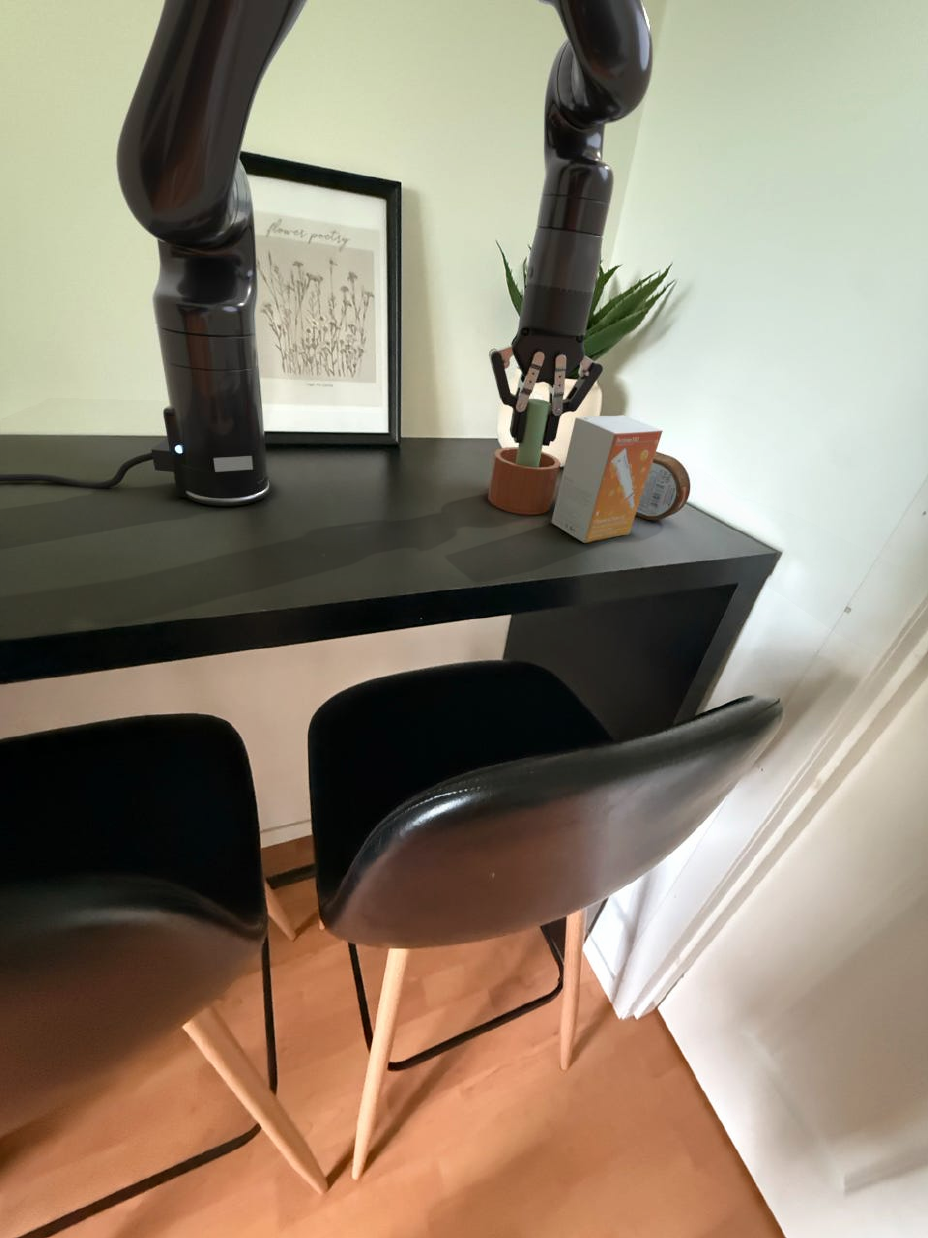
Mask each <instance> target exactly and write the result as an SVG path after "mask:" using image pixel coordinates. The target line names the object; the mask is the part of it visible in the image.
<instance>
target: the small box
mask: <svg viewBox="0 0 928 1238" xmlns="http://www.w3.org/2000/svg"><path fill="white" fill-rule="evenodd" d="M663 431H664V430H662V429H660V428H658V427H655V426H652V425H650V424H647V423H645V422H642V421H640V420H637V419H635V418H632V417H630V416H627V415H625V414H621V415H596V416H587V417H586V416H585V417H582V416H581V417H575V419H574V423H573V427H572V431H571V436H570V441H569V444H568V449H567V453H566V457H565V463H564V465H563V471H562V474H561V479H560V483H559V487H558V491H557V492H558V493H557V496H556V499H555V500H556V501H555V505H554V510H553V513H552V517H551V522H550V523H551V524H552V525H554V526H556V527H558V528H559V529H560V530H562V531H564V532H566V533H567V534H569V535H570V536H572V537H574V538H575V539H577V540H579V541H580V542H582V543H583V544H587V543H591V542H594V541H595V542H596V541H600V540H605V539H610V538H615V537H621V536H627V535H629V534H630V533H631V530H632V527H633V523H634V521H635V517H636V512H637V508H638V505H639V502H640V499H641V496H642V493H643V490H644V487H645V484H646V481H647V478H648V475H649V472H650V468H651V465H652V462H653V459H654V456H655V453H656V451H657V450H658V447H659V443H660V441H661V438H662V434H663Z"/></svg>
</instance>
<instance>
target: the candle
mask: <svg viewBox="0 0 928 1238" xmlns="http://www.w3.org/2000/svg"><path fill="white" fill-rule="evenodd" d="M550 406H551V403H550V402H549V400H545V399H540V398H529V400H528V403H527V406H526V408H525V412H526V419H525V425H524V431H523V437H522V442H521V443H518V446H517V447H518V451H517V457H516V463H515V464H517V465H522V466H526V467H536V468H538V467H539V462H540V457H541V452H543V451H542V450H543V441H544V436H545V431H546V426H547V421H548V416H549V411H550Z"/></svg>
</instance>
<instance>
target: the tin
mask: <svg viewBox="0 0 928 1238" xmlns="http://www.w3.org/2000/svg"><path fill="white" fill-rule="evenodd" d="M689 475H690V474H689V473H688V471H687V469H686V468H685V466H684V465H683V463H682V462H681V461H680V460H678V459H677V458H675V457H673V456H671V455H668V454H665V453H662V452H659V451H657V450H656V453H655V456H654V459H653V462H652V465H651V468H650V472H649V475H648V478H647V481H646V484H645V487H644V490H643V493H642V496H641V499H640V502H639V505H638V508H637V512H636V515H635V517H639V518H642V519H644V520H647V521H660V520H664V519H666V518H669V517H671V516H672V515H676V514H677V513H678V512H680V510H682V509H683V508H684V506H685V505H686V504H687V502H688V499H689V498H690V493H691V479H690V476H689Z"/></svg>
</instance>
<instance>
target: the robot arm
mask: <svg viewBox="0 0 928 1238" xmlns="http://www.w3.org/2000/svg"><path fill="white" fill-rule="evenodd" d="M536 1H537V2H538V3H540V4H541V5H544V6H546V7H551V8H553V9H554V10H555V12H556V14H557V16H558V18H559V21H560V23H561V25H562V28H563V30H564V33H565V35H566V39H565V40H564V41H563V42H562V43H561V44H560V46H559V47H558V50H557V52H556V53H555V55H554V58H553V61H552V63H551V67H550V71H549V74H548V78H547V83H546V89H545V95H544V110H543V163H544V179H543V184H542V188H541V194H540V200H539V205H538V206H539V207H538V213H537V219H536V228H535V232H534V236H533V239H532V243H531V247H530V252H529V257H528V261H527V268H526V276H525V282H524V288H523V294H522V295H523V296H522V301H521V309H520V313H519V319H518V320H519V321H518V327H517V332H516V334H515V336H514V338H513V339H512V340H511V343H510V344H509V345H507V346H504V347H501V348H499V349H497V348H492V349H490V351H489V353H488V357H489V361H490V365H491V368H492V372H493V373H492V374H493V376H494V380H495V384H496V388H497V392H498V396H499V398H500V400H501V402H502V404H503V405H504V406H508V407H510V408H511V409H512V413H511V419H510V424H509V425H510V426H509V433H510V436H511V438H512V439H513V441H514V443H515V444H519V443H521V442H522V437H523V431H524V425H525V419H526V412H525V408H526V406H527V403H528V400H529V399H530V397H531V394H532V393H533V391H534V388H535V385H536V384H540V383H545V384H547V386H548V402H550V403H551V406H550V411H549V416H548V421H547V426H546V431H545V436H544V441H543V446H545V447H550V444H551V443H552V442H553V443H554V441H555V440H556V439H557V434H558V429H559V425H560V419H561V416H562V415H563V414H566V413H569V412H571V413H575V412H576V411H577V410H578V409H579V408H580V406H581V404H582V402H583V401H584V400H585V398H586V397H587V395H588V393H589V392H590V391H591V389H592V388H593V387H594V385H595V384H596V382H597V380H598V379H599V377H600V376H601V374H602V373H603V370H604V367H603V365H602V364H600V362H598V361H596V360H594V359H591V358H590V357H588V356H587V355H585V354H586V350H585V347H584V346H585V345H584V339H585V335H586V330H587V326H588V321H589V317H590V311H591V307H592V304H593V303H592V302H593V298H594V293H595V288H596V286H597V283H598V280H599V270H600V265H601V259H602V258H601V257H602V247H603V240H604V238H603V237H604V234H605V230H606V225H607V221H608V216H609V211H610V207H611V201H612V197H613V191H614V182H615V176H614V171H613V169H612V168H611V167H610V165H609V164H608V163H606V162H604V161H603V155H604V142H605V130H606V125H609V124H613V123H616V122H619V121H621V120H624V119H625V118H627V117H629V116H630V115H632V113H634V112H635V111H636V110H637V108H638V107H639V106H640V105H641V103H642V102H643V100H644V98H645V96H646V94H647V93H648V90H649V86H650V83H651V78H652V73H653V66H654V45H653V35H652V29H651V25H650V20H649V17H648V14H647V10H646V8H645V4H644V2H643V0H536ZM308 2H309V0H163V6H162V9H161V13H160V16H159V20H158V23H157V26H156V30H155V33H154V35H153V39H152V42H151V45H150V48H149V50H148V53H147V56H146V59H145V62H144V64H143V67H142V70H141V72H140V75H139V78H138V81H137V84H136V86H135V90H134V92H133V95H132V97H131V100H130V103H129V106H128V109H127V111H126V114H125V117H124V119H123V123H122V126H121V129H120V132H119V137H118V141H117V146H116V154H115V166H116V173H117V181H118V185H119V188H120V192H121V195H122V197H123V199H124V201H125V202H124V203H125V204H126V206H127V207H128V210H129V212H130V213H131V215H132V217H134V219H135V220H136V222H137V223H138V224H139V225H140V226H141V227H142V228H143V229H144V230H145V231H146V232H147V233H148V234H150V236H152V237H154V238H155V239H156V241H157V243H156V244H157V250H158V259H159V270H158V277H157V278H158V279H157V282H156V285H155V287H154V290H153V293H152V298H151V301H152V309H153V315H154V321H155V326H156V332H157V333H156V334H157V338H158V343H159V344H158V345H159V350H160V355H161V356H160V357H161V362H162V367H163V373H164V380H165V385H166V391H167V398H168V404H169V405H167V406H166V407H165V408H163V412H162V415H163V421H164V426H165V432H166V437H165V438H164V439H163V440H161V441H160V442H159V443H157V444H156V445H155V446H154V447H152V449H150V452H148V453H144V454H141V455H137V456H135V457H132V458H130V459H128V460H127V461H125V462H124V463H122V464H121V465H120V467H119V468H118V470H117V471H116V473H115V475H114V476H113V477H112V478H110V479H108V480H104V481H96V482H93V481H84V480H78V479H73V478H69V477H63V476H60V475H54V474H45V473H44V474H43V473H0V482H22V481H23V482H47V483H55V484H60V485H66V486H70V487H77V488H78V487H80V488H86V489H87V488H88V489H108V488H111V487H115V486H117V485H118V484H119V483H121V482H122V480H123V479H124V478H125V475H126V474H127V472H128V471H129V470H130V469H132V468H134V467H135V466H137V465H140V464H143V463H145V462H148V461H152V463H153V467H154V470H155V471H159V472H169V473H173V478H174V482H175V483H174V484H175V490H176V496H177V497H178V498H184V499H185V498H186V499H188V500H190V501H192V502H195V503H198V504H203V505H207V506H216V507H217V506H218V507H235V506H243V505H248V504H252V503H256V502H258V501H261V500H264V499H265V498H266V497H268V495H269V494H270V482H269V473H268V463H267V450H266V441H265V440H266V439H265V427H264V426H265V425H264V413H263V400H262V389H261V387H262V386H261V376H260V364H259V351H258V338H257V337H258V336H257V325H256V310H257V304H258V293H259V292H258V291H259V285H258V284H259V282H258V266H257V264H258V263H257V245H256V244H257V243H256V242H257V241H256V227H255V212H254V203H253V195H252V190H251V185H250V181H249V178H248V175H247V172H246V170H245V167H244V165H243V164H242V162H241V159H240V156H241V151H242V146H243V143H244V138H245V135H246V130H247V127H248V122H249V120H250V119H249V118H250V115H251V112H252V108H253V105H254V102H255V99H256V96H257V93H258V90H259V88H260V86H261V83H262V80H263V78H264V76H265V74H266V72H267V71H268V69H269V67H270V65H271V63H272V61H273V60H274V58H275V56H276V55H277V54H278V52H279V50H280V49H281V47H282V46H283V44H284V42H285V41H286V39H287V37H288V36H289V34H291V33H290V32H291V31H292V29H293V28H294V26H295V25H296V23H297V21H298V19H299V18H300V17H301V15H302V13H303V12H304V9H305V8H306V6H307V4H308ZM511 357H514V359H515V361H516V363H517V366H518V368H519V370H520V372H521V373H520V376H519V380H518V383H517V388H516V392H515V394H514V393H512V392H511V388H510V385H509V381H508V377H507V373H506V369H508V368H509V367H510V364H511V361H510V360H511ZM578 365H579V369H578V375H579V377H578V378H577V380H576V382H575V383H574V384H573V386H572V388H571V389H570V391H569V392H568V393H567V395H566V396H565V385H566V379H567V378H568V377H569V376H570V374H571V373H572V372H573V371H574V370H575V369H576V368H577V367H578ZM564 396H565V398H564ZM543 446H542V447H543Z"/></svg>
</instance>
